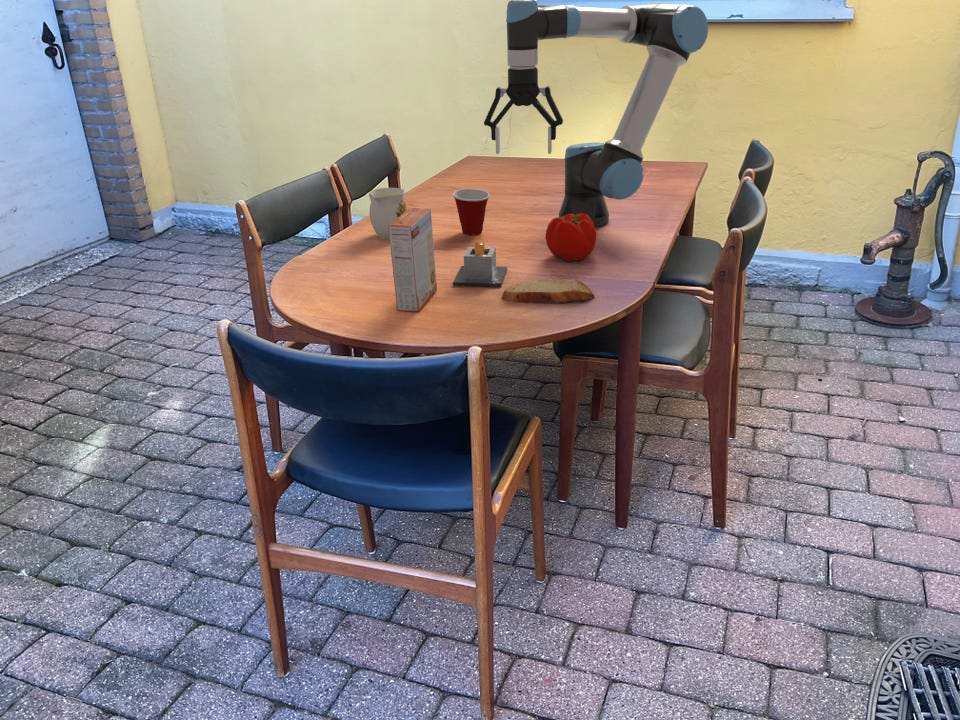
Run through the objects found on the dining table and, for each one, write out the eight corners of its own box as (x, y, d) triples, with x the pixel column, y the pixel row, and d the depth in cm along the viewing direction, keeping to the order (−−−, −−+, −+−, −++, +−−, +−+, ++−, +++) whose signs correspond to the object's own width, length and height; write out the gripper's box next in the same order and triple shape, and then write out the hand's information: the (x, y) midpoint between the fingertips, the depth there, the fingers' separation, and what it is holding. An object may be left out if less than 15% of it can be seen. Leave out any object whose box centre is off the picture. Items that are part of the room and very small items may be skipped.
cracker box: (414, 289, 200) (408, 206, 191) (438, 291, 199) (432, 207, 189) (394, 311, 188) (386, 224, 179) (419, 313, 187) (412, 225, 177)
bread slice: (495, 298, 194) (494, 284, 192) (547, 279, 204) (547, 265, 203) (549, 319, 182) (549, 304, 180) (602, 297, 192) (602, 282, 191)
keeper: (507, 270, 210) (506, 236, 206) (501, 287, 199) (500, 252, 195) (461, 269, 212) (459, 236, 208) (453, 286, 201) (451, 251, 197)
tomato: (567, 269, 209) (568, 225, 203) (535, 255, 220) (535, 213, 214) (607, 259, 215) (609, 216, 210) (574, 245, 226) (575, 204, 220)
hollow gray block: (496, 269, 208) (495, 247, 205) (492, 279, 201) (491, 256, 199) (469, 269, 209) (468, 247, 206) (464, 278, 202) (463, 256, 200)
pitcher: (419, 226, 246) (416, 182, 240) (397, 245, 231) (393, 198, 225) (386, 225, 250) (382, 180, 243) (362, 243, 234) (357, 196, 228)
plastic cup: (479, 240, 233) (478, 199, 227) (447, 235, 238) (445, 195, 232) (497, 229, 241) (496, 190, 236) (466, 225, 246) (464, 186, 241)
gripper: (573, 64, 203) (572, 149, 213) (475, 66, 207) (478, 149, 217) (572, 67, 197) (570, 155, 206) (471, 69, 201) (474, 156, 210)
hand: (523, 152), depth 212 cm, fingers open, 13 cm apart
